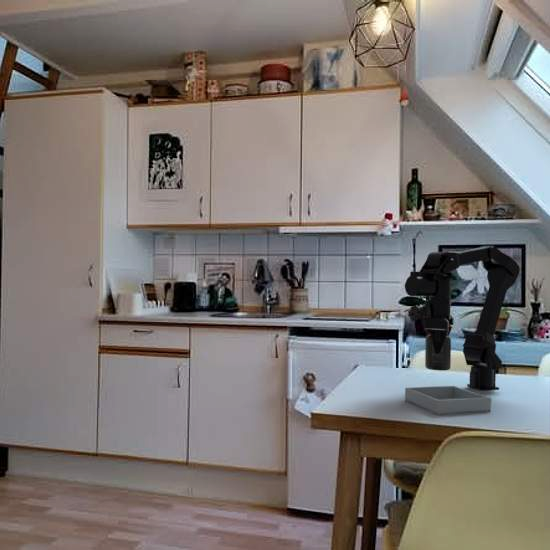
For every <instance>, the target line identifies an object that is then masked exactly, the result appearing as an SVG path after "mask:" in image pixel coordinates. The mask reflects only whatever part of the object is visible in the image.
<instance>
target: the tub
mask: <svg viewBox="0 0 550 550" xmlns="http://www.w3.org/2000/svg"><path fill="white" fill-rule="evenodd" d="M404 390H405V391H404V392H405V393H404V394H405V395H404V396H405V398H404V401H405V402H406V403H408V404H411V405H412V406H415V407H418V408H420V409H423V410H425V411H427V412H430V413H431V414H434V415H436V416H447V415H458V414H459V415H460V414H462V415H463V414H475V413H486V412H487V411H488V412H492V411H491V409H492V405H491V404H492V398H491V397H489V396H485V395H482V394H481V393H477V392H473V391H472V390H467V389H465V388H462V387H458V386H457V385H442V386H437V385H436V386H422V387H421V386H418V387H417V386H416V387H415V386H414V387H405V389H404ZM488 412H487V413H488Z"/></svg>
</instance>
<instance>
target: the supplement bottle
mask: <svg viewBox="0 0 550 550" xmlns="http://www.w3.org/2000/svg"><path fill="white" fill-rule="evenodd" d="M424 345H425V346H424V347H425V350H424V351H425V353H424V357H425V360H424V362H425V363H424V364H425V365H424V366H425V368H426V369H427V370H430V371H431V370H432V371H449V370H451V366H452V364H451V361H452V360H451V359H452V358H451V357H452V349H451V347H452V338H451V337H450V335H449V336H446V339H445V341H444V344H443V346H442V349H441V351H440V354H435V351H434V346H433V341H432V337H431V334H430V333H429V334H428V335H426V336H425V344H424Z"/></svg>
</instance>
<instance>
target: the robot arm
mask: <svg viewBox="0 0 550 550" xmlns="http://www.w3.org/2000/svg"><path fill="white" fill-rule="evenodd" d="M478 262H481V264H482V268H484V270H485V271H486V272H487V273H486V275H487V276H486V278H487V279H486V280H487V282H488V285H489V286H488V291H487V293H486V297H485V301H484V303H483V305H482V310H481V313H480V316H479V319H478V322H477V325H476V329H475V331H473V332H472V333H466V335H465V339H464V343H463V344H462V347H463V349H462V354H463V356H464V358H465V363H466V366H470V371H469V383H467V384H466V386H467V387H470V388H473V389H476V390H479V391H491V390H500V387H499V386H496V376H497V375H496V373H497V372H496V371H498V370H500V369H501V368H502V363H503V361H502V359H500V357H499V356H498V354H497V353H496V347H497V344H496V341H495V338H494V335H495V333H496V332H495V330H496V327H497V324H498V321H499V318H500V314H501V312H502V308H503V305H504V303H505V302H504V301H505V298H506V295H507V293H508V290H509V289H510V288H511V287H512V286H513V285H514V284H515V283H516V282H517V279H518V277H519V275H520V272H521V271H520V269H521V268H520V266H519V264H518V263H517V261H516V260H514V259H513V258H512V257H511V256H509V255H508V254H506V253H504V252H502V251H501V250H499V248H498V247H497V246H494V245H482V246H480V247H477V248H471V249H464V250H460V251H435V252H434V251H432V252H429V254H427V257H426V260H425V262H424V263H423V264H422V267H421V269H420V270H419V271H410V272H409V274H410V275H409V276H408V278H406V281H405V283H404V290H405V293H406V294H407V296H409V297H428V298H429V299H428V300H427V301H426V305H424V306H418V305H417V304H416V305H413V306H410V310H407V315H408V317H409V319H410V322H415V321H417V320H419V319H420V320H421V319H423V318H425V319H424V320H423V329H424V330H425V331H426V332H427V333H429V334H431V337H432V341H433V346H434V351H435V354H440V351H441V349H442V346H443V344H444V341H445V339H446V336H449V337H450V333H452V329H453V326H454V325H455V324H454V323H455V317H453V316H452V315H451V305H452V298H451V297H452V296H451V294H452V291H451V290H452V281H454V282H456V281H458V278H457V276H455V275H454V274H453V271H455V270H458V269H459V268H460V267H461V266H463V265H468V264H474V263H478Z"/></svg>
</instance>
